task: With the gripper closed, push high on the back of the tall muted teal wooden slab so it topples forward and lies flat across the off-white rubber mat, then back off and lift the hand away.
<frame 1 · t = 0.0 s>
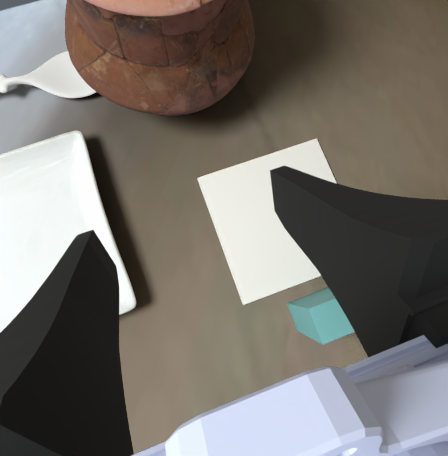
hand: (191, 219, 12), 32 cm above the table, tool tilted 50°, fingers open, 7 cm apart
square plate: (26, 250, 44), on the table
teal slab: (317, 307, 43), on the table
pottery vessel: (171, 72, 50), on the table
spoon: (19, 95, 48), on the table
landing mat: (281, 217, 45), on the table
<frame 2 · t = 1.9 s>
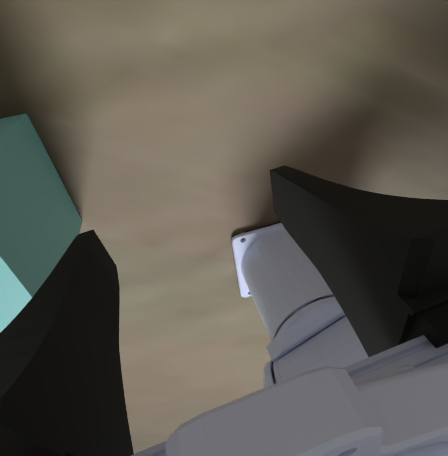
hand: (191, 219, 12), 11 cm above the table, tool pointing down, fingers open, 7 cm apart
teal slab: (27, 180, 20), on the table
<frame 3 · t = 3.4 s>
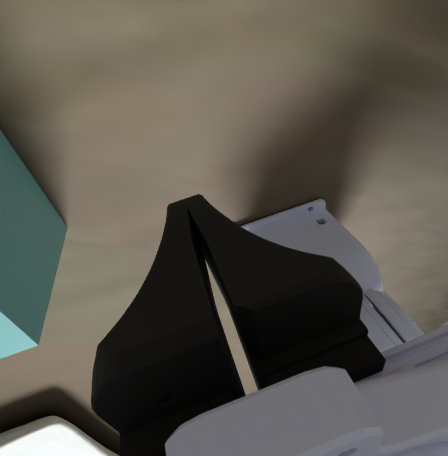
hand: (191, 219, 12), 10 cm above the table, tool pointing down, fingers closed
teal slab: (4, 190, 20), on the table
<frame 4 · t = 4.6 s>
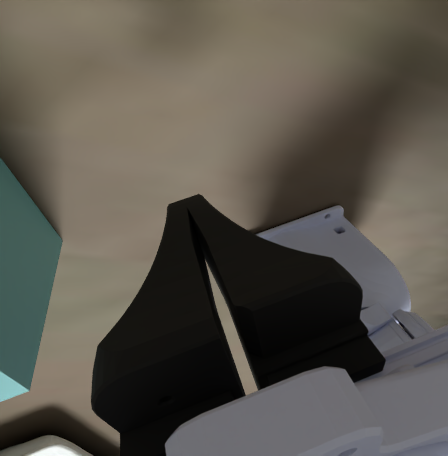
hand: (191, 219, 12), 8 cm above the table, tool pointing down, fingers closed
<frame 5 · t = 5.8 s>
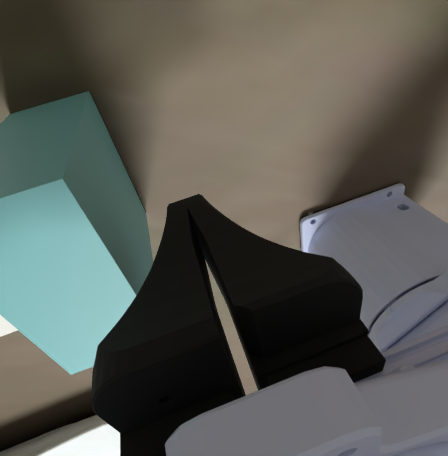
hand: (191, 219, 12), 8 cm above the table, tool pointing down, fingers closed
teal slab: (88, 170, 18), on the table
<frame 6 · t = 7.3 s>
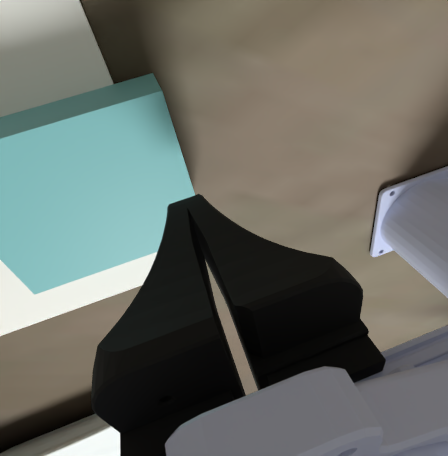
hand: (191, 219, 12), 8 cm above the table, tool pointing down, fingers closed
square plate: (114, 443, 40), on the table
teal slab: (181, 158, 16), point 2 cm above the table, tilted 90°, touching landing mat
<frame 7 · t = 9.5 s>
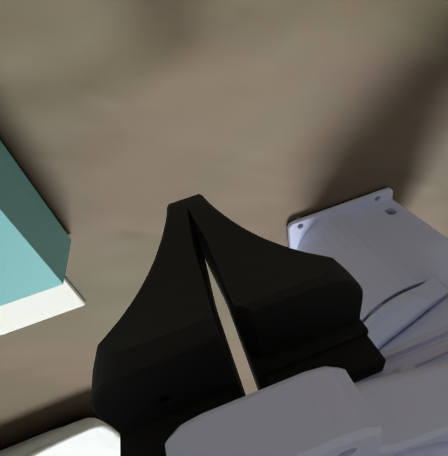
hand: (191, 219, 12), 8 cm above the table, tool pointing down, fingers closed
teal slab: (27, 207, 16), point 2 cm above the table, tilted 90°, touching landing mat
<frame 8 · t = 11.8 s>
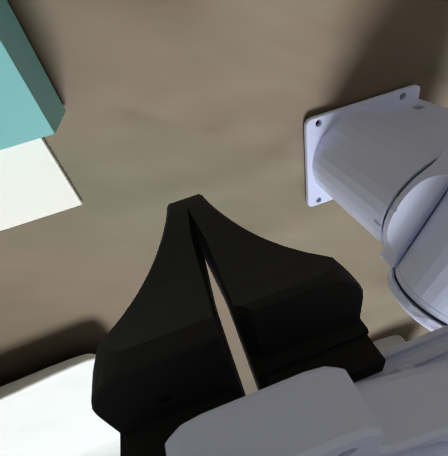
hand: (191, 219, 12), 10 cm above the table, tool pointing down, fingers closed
square plate: (47, 421, 37), on the table
egg container: (364, 357, 52), on the table
teal slab: (12, 33, 13), point 2 cm above the table, tilted 90°, touching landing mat
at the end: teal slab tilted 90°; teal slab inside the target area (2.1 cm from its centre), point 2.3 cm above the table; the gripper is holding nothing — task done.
